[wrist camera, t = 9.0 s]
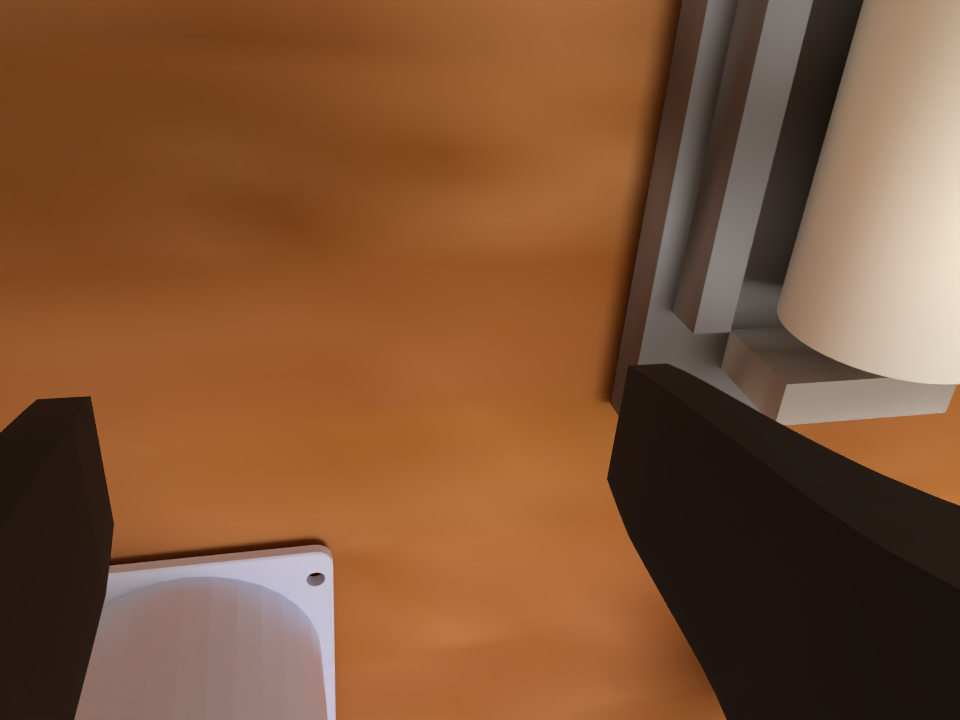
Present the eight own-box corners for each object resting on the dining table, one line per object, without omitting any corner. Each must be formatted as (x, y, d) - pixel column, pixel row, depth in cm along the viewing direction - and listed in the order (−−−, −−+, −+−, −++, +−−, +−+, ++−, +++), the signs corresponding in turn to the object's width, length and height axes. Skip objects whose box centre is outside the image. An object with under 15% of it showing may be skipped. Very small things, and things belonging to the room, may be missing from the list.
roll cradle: (905, 383, 27) (999, 457, 23) (610, 403, 24) (668, 490, 21) (1138, -231, 19) (1332, -252, 15) (734, -290, 16) (859, -330, 13)
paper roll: (898, 293, 23) (1043, 388, 19) (736, 300, 22) (854, 403, 18) (1022, -52, 19) (1244, -28, 15) (831, -69, 18) (1014, -47, 13)
